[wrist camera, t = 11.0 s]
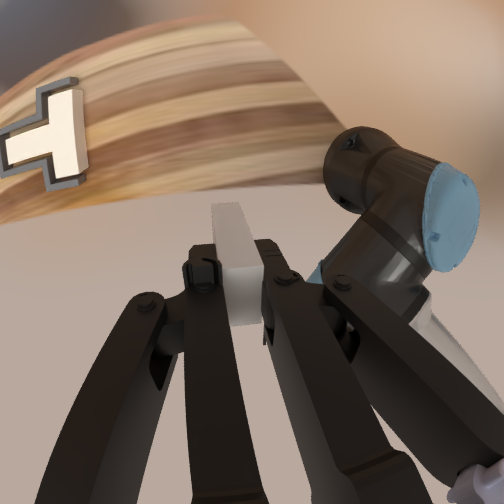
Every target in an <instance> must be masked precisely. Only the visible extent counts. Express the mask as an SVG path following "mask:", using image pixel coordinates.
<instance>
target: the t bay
mask: <svg viewBox="0 0 504 504" xmlns="http://www.w3.org/2000/svg"><path fill="white" fill-rule="evenodd" d="M77 84H78V78H75V77H67V78H64V79H61V80H58V81H55V82H52V83H49V84H47V85H44V86H41V87H39V88H36V113H37V114H36V115H33V116H31V117H28V118H25V119H23V120H20V121H18V122H15V123H13V124H11V125H8V126H6V127H4V128H2V129H0V177H1V179H3V178H6V177H9V176H12V175H15V174H18V173H21V172H25V171H28V170H31V169H35V168H39V167H42V169H43V175H44V181H45V186H46V191H47V192H49V191H54V190H59V189H64V188H69V187H74V186H79V185H80V184H81V183H83V182H84V181H85V180H86V176H85V174H80V175H75V176H70V177H65V178H61V179H59V178H57V179H56V175H55V169H54V162H53V155H51V156H47V157H44V158H40V159H37V160H33V161H30V162H27V163H24V164H20V165H17V166H14V167H13V164H10V165H9V163H8V156H7V149H6V140H7V139H9V133H10V132H12V131H15V130H17V129H20V128H22V127H25V126H28V125H30V124H33V123H36V122H39V121H42V120H45V119H48V118H49V110H48V97H49V96H51V93H52V92H55V91H58V90H61V89H64V88H67V87H70V86H74V85H77Z"/></svg>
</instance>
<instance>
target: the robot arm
mask: <svg viewBox="0 0 504 504" xmlns="http://www.w3.org/2000/svg"><path fill="white" fill-rule="evenodd" d="M323 174H324V182H325V186H326V188H327V191H328V193H329V195H330V196H331V198H332V199H333V200H334V201H335V202H336V203H337V204H339V205H340V206H341V207H342V208H344V209H346V210H347V211H349V212H352V213H355V214H361V217H359V219H358V220H357V221H356V222H355V224H354V225H353V226H352V227H351V229H350V230H349V231H348V232H347V233H346V234H345V236H344V237H343V238H342V239H341V240H340V242H339V243H338V244H337V245H336V246H335V247H334V248H333V250H332V251H331V252H330V253H329V254H328V255H327V256H326V258H325V259H324V260H321V261H320V262H319V263H318V267H317V268H316V269H315V271H314V272H313V273H312V274H311V276H310V277H309V278H308V279H307V281H306V282H305V281H304V279H303V277H302V276H301V275H300V274H299V273H297V272H295V271H293V270H290V268H289V266H288V264H287V262H286V260H285V259H284V257H283V256H282V253H281V251H280V249H279V247H278V246H277V244H276V243H275V242H273V241H272V240H270V239H260V240H253V237H252V235H251V232H250V230H249V227H248V225H247V222H246V220H245V217H244V215H243V212H242V210H241V207H240V205H239V203H238V202H235V203H218V204H211V207H212V227H213V244H202V245H194V246H193V247H192V248H191V249H190V250H189V259H188V260H187V261H186V262H185V263H184V264H183V266H182V271H183V278H184V284H185V290H184V291H183V292H181V293H180V294H179V295H176V296H174V297H171V298H168V299H164V297H163V296H162V295H160V294H159V293H156V292H144V293H140V294H138V295H136V296H134V297H133V298H132V299H131V300H130V301H129V303H128V304H127V306H126V308H125V309H124V311H123V312H122V314H121V316H120V317H119V319H118V321H117V322H116V324H115V326H114V328H113V329H112V331H111V333H110V334H109V336H108V338H107V340H106V342H105V343H104V345H103V347H102V349H101V351H100V352H99V354H98V356H97V358H96V360H95V362H94V364H93V365H92V367H91V369H90V371H89V373H88V375H87V377H86V379H85V381H84V383H83V385H82V387H81V389H80V391H79V393H78V395H77V397H76V399H75V401H74V404H73V406H72V408H71V410H70V412H69V414H68V416H67V418H66V421H65V423H64V425H63V428H62V430H61V432H60V434H59V437H58V439H57V442H56V444H55V447H54V449H53V452H52V454H51V457H50V459H49V462H48V465H47V467H46V471H45V473H44V476H43V479H42V481H41V484H40V488H39V491H38V494H37V498H36V500H35V504H137V500H138V495H139V491H140V487H141V483H142V479H143V475H144V472H145V468H146V464H147V460H148V456H149V453H150V449H151V445H152V442H153V438H154V435H155V431H156V428H157V424H158V420H159V417H160V414H161V410H162V407H163V404H164V400H165V397H166V394H167V390H168V387H169V384H170V380H171V377H172V374H173V371H174V368H175V364H176V361H177V358H178V353H181V352H184V379H185V406H186V425H187V439H188V452H189V463H190V473H191V482H192V492H193V498H192V502H191V504H269V502H268V499H267V497H266V494H265V492H264V489H263V486H262V482H261V478H260V475H259V470H258V466H257V461H256V457H255V452H254V448H253V443H252V439H251V434H250V429H249V425H248V420H247V415H246V410H245V405H244V401H243V395H242V390H241V385H240V380H239V375H238V369H237V364H236V359H235V353H234V347H233V342H232V337H231V330H230V326H239V325H249V324H258V323H261V318H262V316H263V319H264V335H263V336H264V337H263V345H266V341H267V345H268V348H269V352H270V355H271V358H272V361H273V365H274V369H275V372H276V375H277V379H278V382H279V385H280V389H281V392H282V395H283V399H284V402H285V405H286V409H287V412H288V415H289V418H290V422H291V425H292V428H293V432H294V435H295V438H296V442H297V445H298V448H299V451H300V454H301V457H302V461H303V464H304V467H305V471H306V474H307V477H308V480H309V483H310V487H311V492H312V494H311V501H312V504H433V503H432V500H431V498H430V496H429V494H428V492H427V489H426V487H425V485H424V482H423V480H422V478H421V476H420V474H419V472H418V470H417V467H416V465H415V463H414V462H413V460H412V459H411V457H410V456H409V455H407V454H406V453H405V452H402V451H398V450H395V449H393V447H392V446H391V445H390V443H389V442H388V439H387V437H386V435H385V433H384V431H383V429H382V427H381V425H380V423H379V421H378V419H377V417H376V415H375V413H374V411H373V409H372V407H371V405H372V406H373V408H374V409H375V410H376V411H377V413H378V414H379V415H380V416H381V417H382V418H383V420H384V421H385V422H386V423H387V424H388V425H389V427H390V428H391V429H392V430H393V431H394V432H395V434H396V435H397V436H398V437H399V438H400V439H401V441H402V442H403V443H404V444H405V445H406V446H407V448H408V449H409V450H410V451H411V452H412V453H413V455H414V456H415V457H416V458H417V459H418V460H419V461H420V463H421V464H422V465H423V466H424V467H425V468H426V469H427V470H428V471H429V472H430V473H431V474H432V475H433V476H434V477H435V478H436V479H438V480H439V481H440V482H442V483H443V484H445V485H447V486H449V487H451V489H450V490H449V492H448V494H447V500H448V502H450V503H457V504H504V402H503V401H502V399H501V398H500V397H499V395H498V394H497V392H496V391H495V389H494V388H493V387H492V385H491V384H490V382H489V381H488V380H487V378H486V377H485V376H484V374H483V373H482V372H481V370H480V369H479V368H478V367H477V365H476V364H475V363H474V361H473V360H472V359H471V357H470V356H469V355H468V354H467V353H466V351H465V350H464V349H463V348H462V346H461V345H460V344H459V343H458V341H457V340H456V339H455V338H454V337H453V336H452V334H451V333H450V332H449V331H448V330H447V329H446V327H445V326H444V325H443V324H442V323H441V322H440V321H439V319H438V318H437V317H436V316H435V315H434V314H433V313H432V310H431V293H430V292H429V291H428V290H427V289H426V288H425V286H423V284H422V282H423V281H424V280H425V278H426V277H427V276H428V275H429V274H430V272H431V271H432V270H433V269H434V270H435V271H440V272H449V271H451V270H452V268H453V267H456V266H458V265H459V264H460V263H461V262H462V260H463V259H464V258H465V256H466V255H467V253H468V251H469V249H470V247H471V245H472V243H473V241H474V238H475V235H476V232H477V228H478V223H479V216H480V202H479V195H478V192H477V189H476V186H475V184H474V183H473V181H472V180H471V179H470V178H469V177H468V176H467V175H466V174H464V173H462V172H461V171H459V170H457V169H455V168H454V167H452V166H451V165H449V164H448V163H442V162H440V161H437V160H435V159H432V158H430V157H427V156H424V155H421V154H418V153H416V152H413V151H410V150H407V149H404V148H402V147H401V146H399V145H398V144H397V143H396V142H395V141H394V140H393V139H392V138H391V137H390V136H389V135H387V134H386V133H384V132H382V131H380V130H378V129H375V128H370V127H364V126H360V127H354V128H351V129H348V130H347V131H345V132H343V133H342V134H341V135H339V136H338V137H337V138H336V139H335V141H334V142H333V143H332V145H331V146H330V148H329V150H328V152H327V155H326V158H325V162H324V170H323ZM370 404H371V405H370Z"/></svg>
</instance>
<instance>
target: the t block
mask: <svg viewBox="0 0 504 504" xmlns="http://www.w3.org/2000/svg"><path fill="white" fill-rule="evenodd" d="M48 110H49V124H48V125H45V126H42V127H39V128H36V129H33V130H30V131H27V132H25V133H22V134H19V135H17V136H14V137H11V138H9V139H7V140H6V149H7V156H8V163H9V165H10V164H13V163H16V162H19V161H22V160H25V159H28V158H31V157H35V156H38V155H41V154H45V153H48V152H52V155H53V162H54V169H55V175H56V179H57V178H61V177H66V176H71V175H76V174H80V173H81V172H82V171H84V170H85V169H87V168H88V167H89V165H88V157H87V148H86V138H85V126H84V110H83V90H76V89H71V90H68V91H65V92H61V93H58V94H55V95H52V96H49V97H48Z"/></svg>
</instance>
